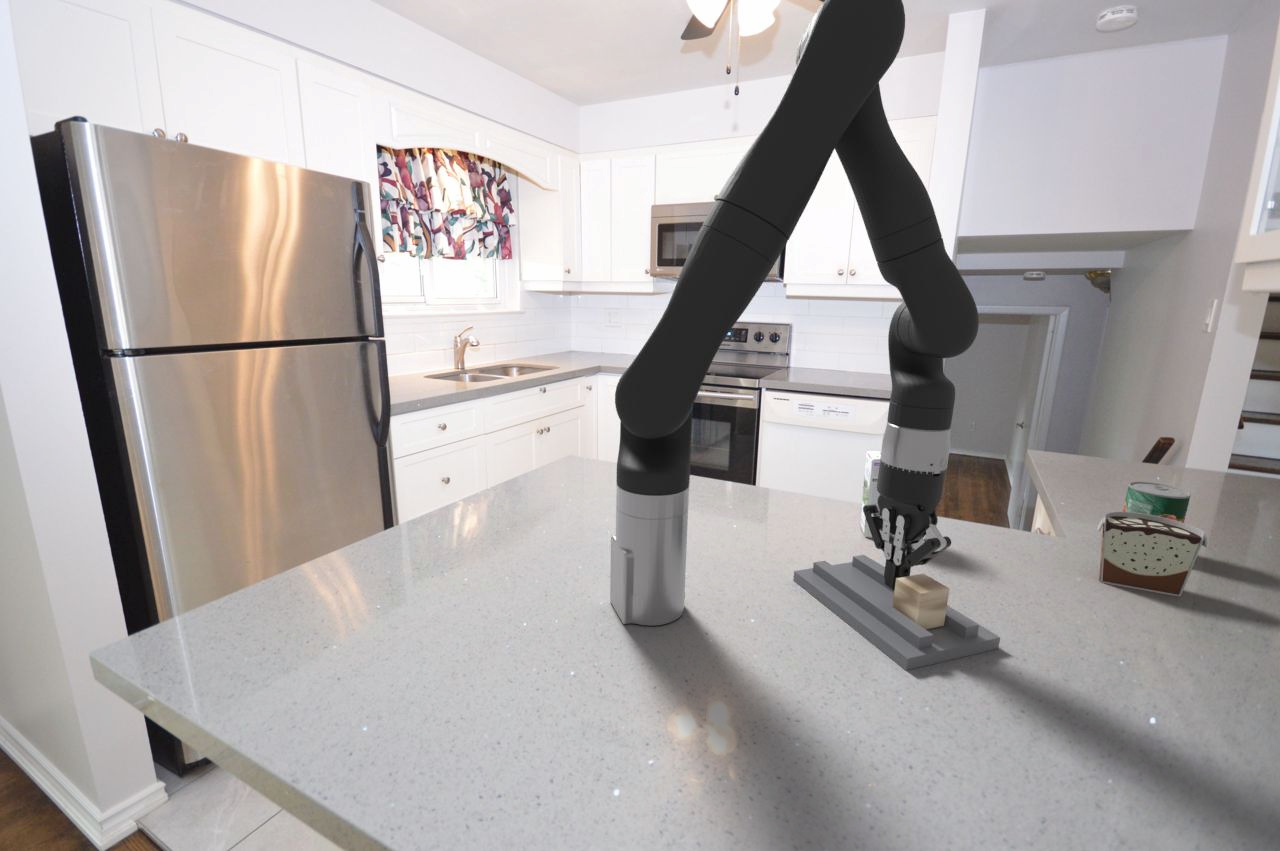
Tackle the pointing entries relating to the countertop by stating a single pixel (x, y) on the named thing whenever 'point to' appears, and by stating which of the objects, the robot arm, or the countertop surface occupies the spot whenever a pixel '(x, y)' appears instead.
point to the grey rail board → (891, 615)
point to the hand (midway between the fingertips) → (895, 587)
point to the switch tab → (921, 600)
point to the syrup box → (870, 487)
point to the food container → (1148, 552)
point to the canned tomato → (1157, 500)
